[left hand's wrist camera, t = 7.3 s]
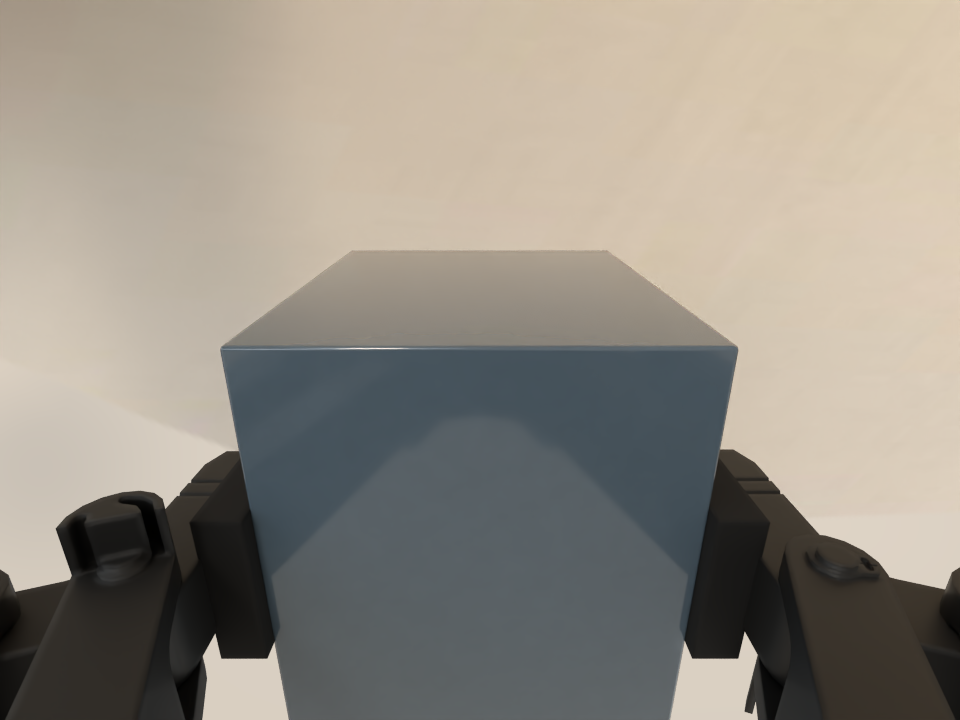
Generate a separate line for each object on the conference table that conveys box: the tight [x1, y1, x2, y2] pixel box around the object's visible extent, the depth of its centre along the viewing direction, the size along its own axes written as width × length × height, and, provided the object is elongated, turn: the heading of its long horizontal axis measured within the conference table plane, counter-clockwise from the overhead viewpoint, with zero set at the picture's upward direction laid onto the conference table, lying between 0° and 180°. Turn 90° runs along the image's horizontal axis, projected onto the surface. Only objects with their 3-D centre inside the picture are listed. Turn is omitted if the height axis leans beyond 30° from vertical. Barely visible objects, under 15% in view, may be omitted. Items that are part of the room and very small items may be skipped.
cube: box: [221, 251, 738, 720], centre depth 12 cm, size 7×8×8 cm
